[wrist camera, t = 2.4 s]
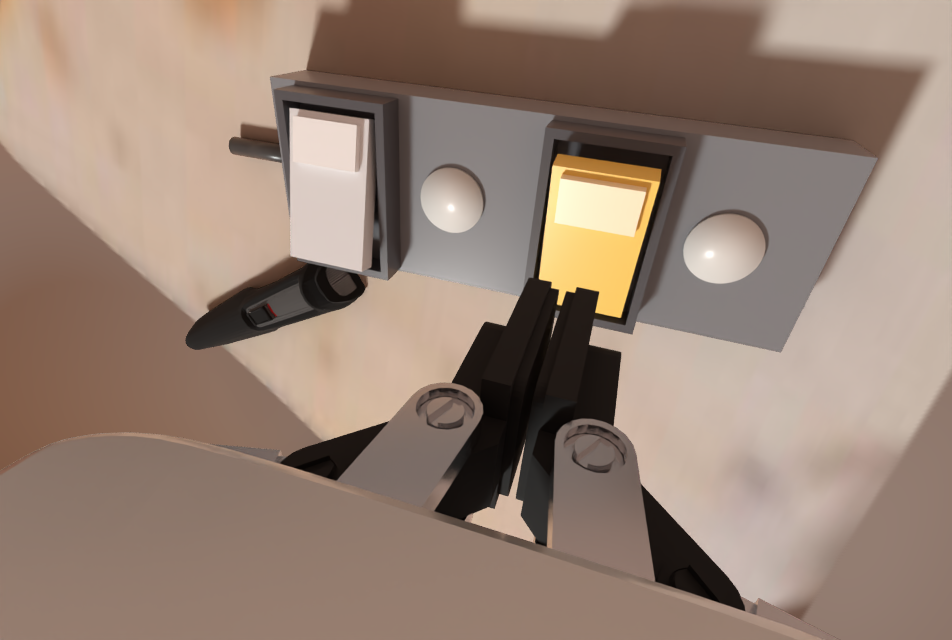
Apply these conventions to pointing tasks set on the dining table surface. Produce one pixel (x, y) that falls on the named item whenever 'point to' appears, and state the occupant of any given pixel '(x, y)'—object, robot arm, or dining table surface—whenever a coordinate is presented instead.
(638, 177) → the amber rocker
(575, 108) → the power strip
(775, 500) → the dining table surface
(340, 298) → the electric trimmer
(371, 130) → the white rocker switch
